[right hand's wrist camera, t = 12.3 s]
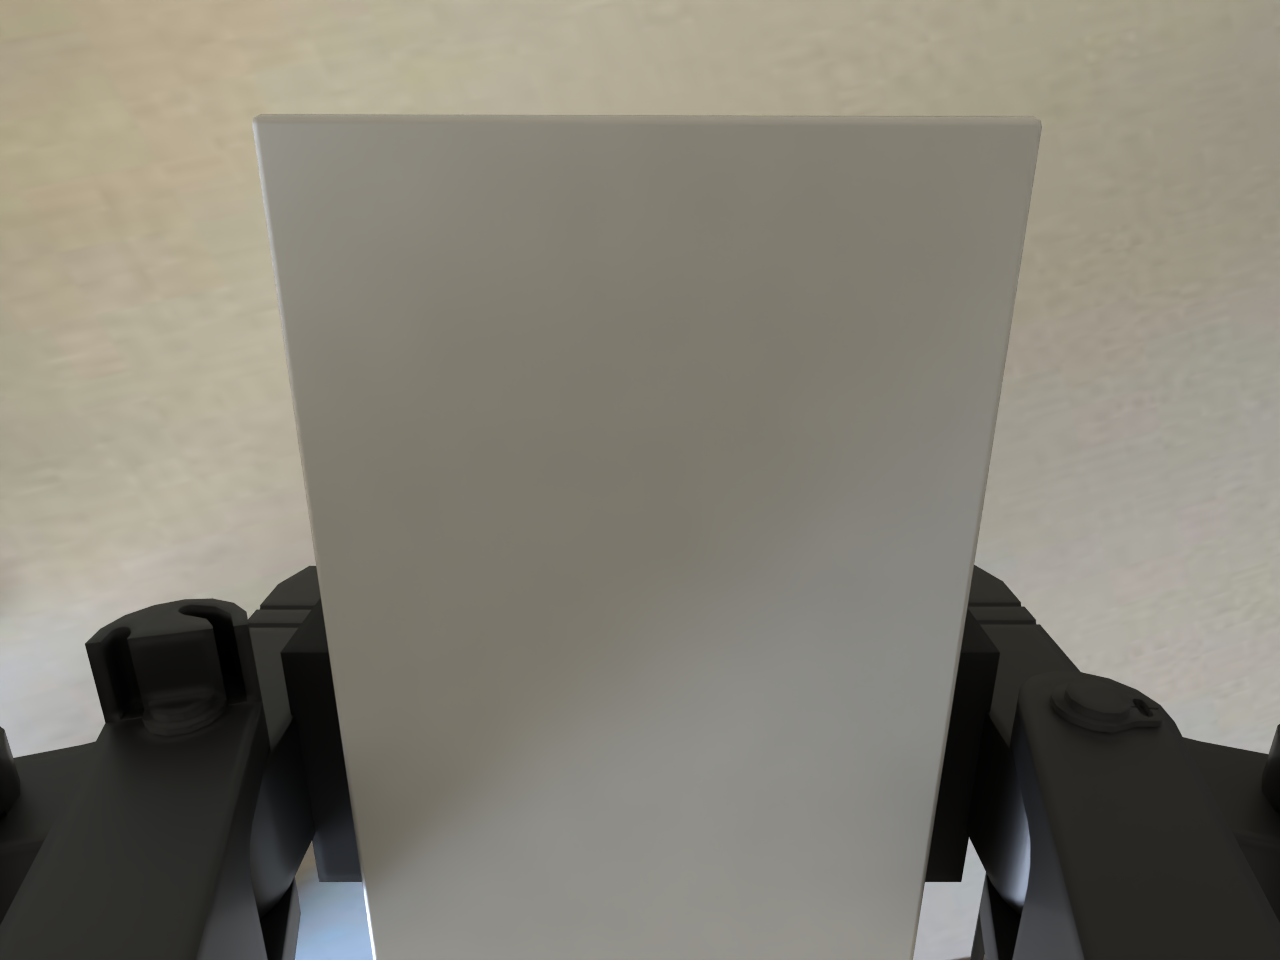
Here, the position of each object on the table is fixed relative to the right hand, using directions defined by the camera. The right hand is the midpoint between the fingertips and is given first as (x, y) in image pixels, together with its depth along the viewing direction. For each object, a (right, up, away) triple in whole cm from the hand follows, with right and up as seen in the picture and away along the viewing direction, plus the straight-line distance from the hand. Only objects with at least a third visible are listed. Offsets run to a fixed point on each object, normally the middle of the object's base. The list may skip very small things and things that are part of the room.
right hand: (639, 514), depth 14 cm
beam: (0, -21, +8) cm, 22 cm away
